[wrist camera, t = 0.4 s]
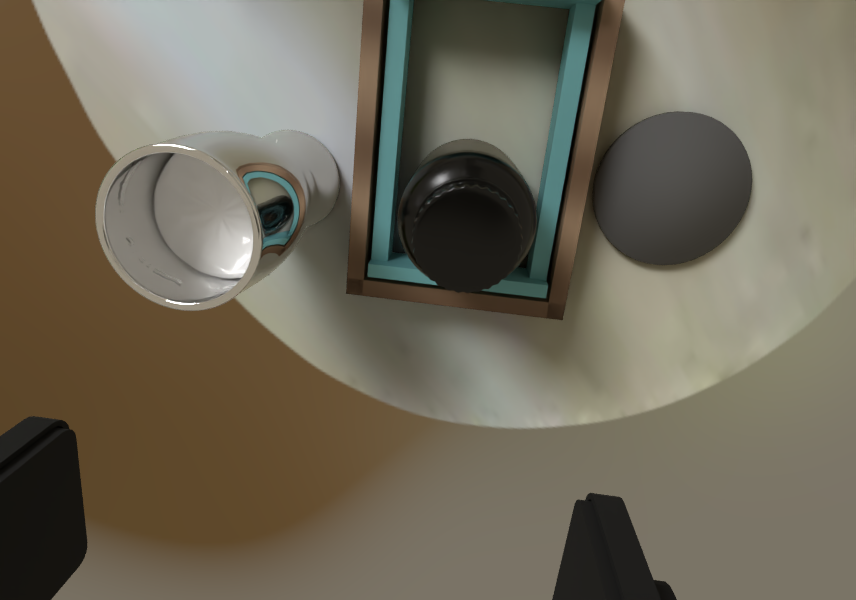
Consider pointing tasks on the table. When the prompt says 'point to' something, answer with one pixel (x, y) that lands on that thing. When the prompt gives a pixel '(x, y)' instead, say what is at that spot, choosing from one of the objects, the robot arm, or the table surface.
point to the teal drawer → (555, 162)
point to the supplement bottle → (467, 216)
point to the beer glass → (211, 212)
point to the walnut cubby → (572, 193)
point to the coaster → (672, 188)
